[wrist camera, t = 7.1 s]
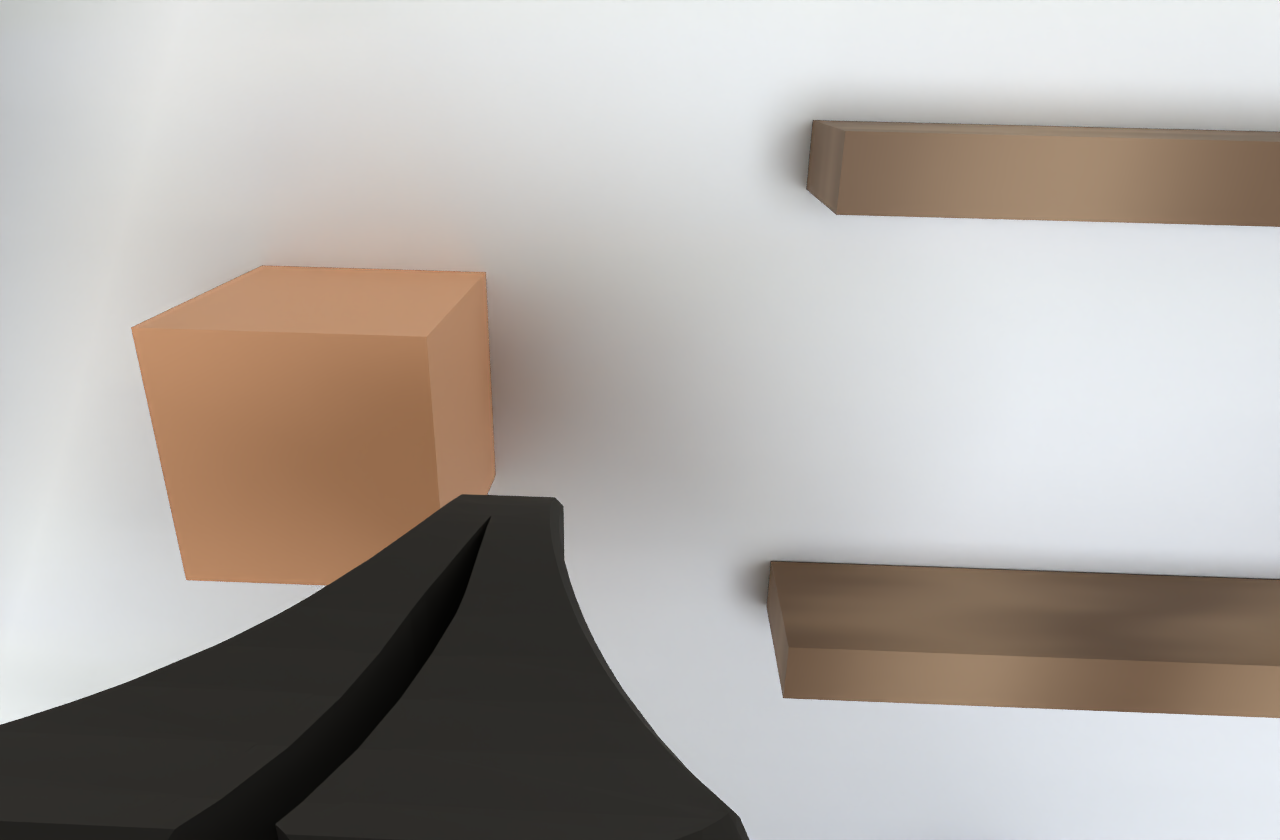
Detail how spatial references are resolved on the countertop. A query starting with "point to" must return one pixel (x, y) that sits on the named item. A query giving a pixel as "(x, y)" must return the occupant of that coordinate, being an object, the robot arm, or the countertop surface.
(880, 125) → the wooden frame
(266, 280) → the terracotta block
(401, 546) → the robot arm
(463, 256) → the countertop surface
